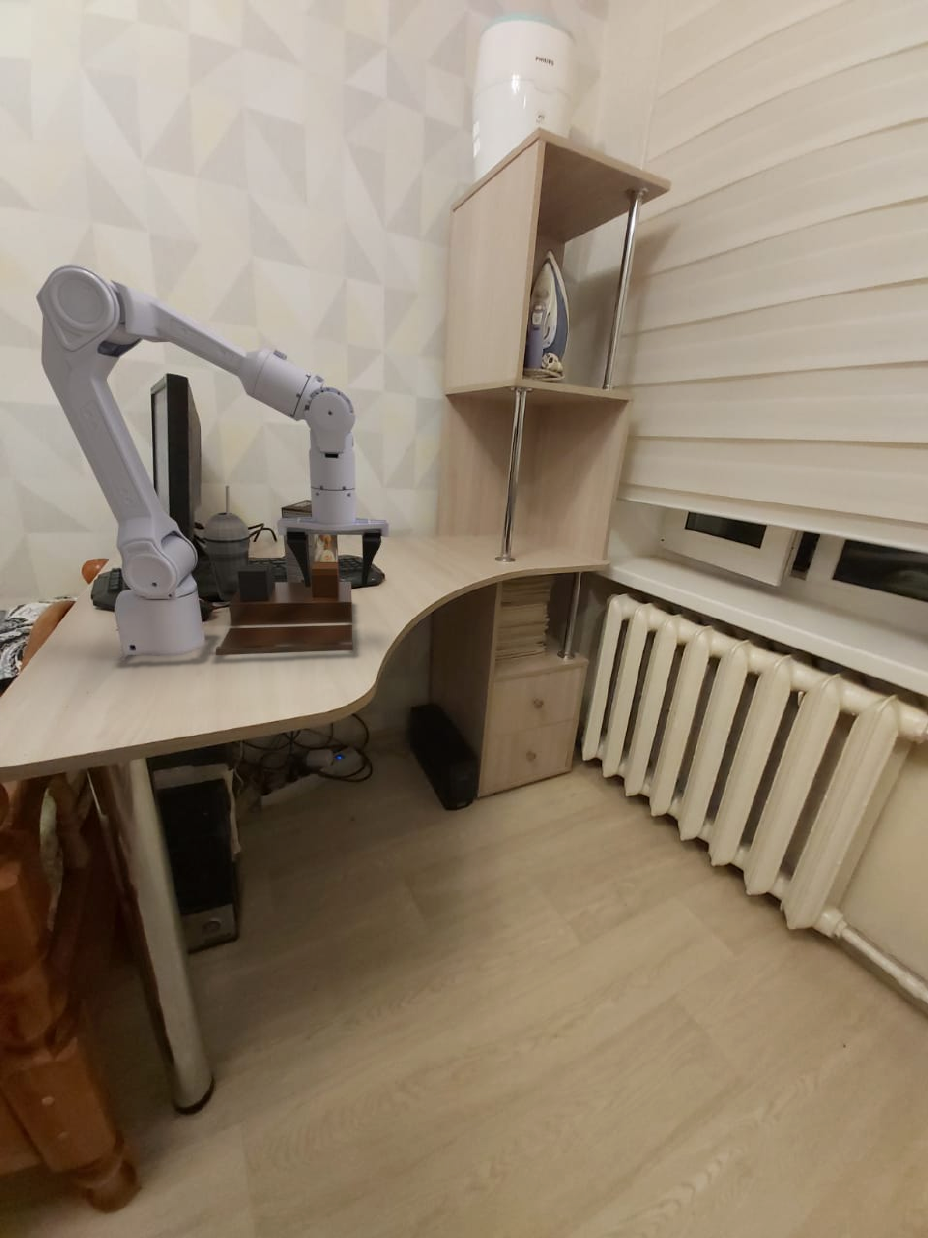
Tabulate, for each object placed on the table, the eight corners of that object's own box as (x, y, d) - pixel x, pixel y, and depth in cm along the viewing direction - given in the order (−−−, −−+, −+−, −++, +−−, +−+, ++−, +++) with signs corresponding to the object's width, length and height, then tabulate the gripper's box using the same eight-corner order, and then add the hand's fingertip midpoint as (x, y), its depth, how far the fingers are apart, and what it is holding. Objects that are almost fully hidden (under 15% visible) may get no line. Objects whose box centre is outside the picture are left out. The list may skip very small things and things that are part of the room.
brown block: (338, 597, 80) (337, 568, 78) (312, 597, 79) (311, 568, 77) (339, 581, 87) (338, 554, 85) (315, 581, 86) (314, 554, 84)
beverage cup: (229, 592, 91) (215, 480, 84) (265, 597, 90) (254, 484, 82) (202, 605, 85) (184, 485, 77) (241, 611, 83) (226, 489, 76)
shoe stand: (217, 661, 67) (212, 631, 66) (244, 607, 85) (241, 582, 83) (353, 655, 71) (352, 627, 69) (351, 605, 89) (351, 581, 87)
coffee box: (310, 578, 101) (306, 498, 95) (340, 582, 100) (337, 502, 94) (286, 592, 93) (280, 506, 87) (318, 597, 92) (314, 510, 86)
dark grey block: (268, 600, 77) (265, 571, 75) (240, 601, 76) (237, 571, 74) (275, 584, 84) (272, 556, 82) (249, 584, 83) (246, 556, 81)
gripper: (386, 484, 71) (386, 575, 76) (278, 481, 68) (286, 576, 73) (390, 492, 64) (389, 591, 70) (272, 488, 61) (280, 592, 66)
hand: (336, 584), depth 71 cm, fingers open, 7 cm apart
